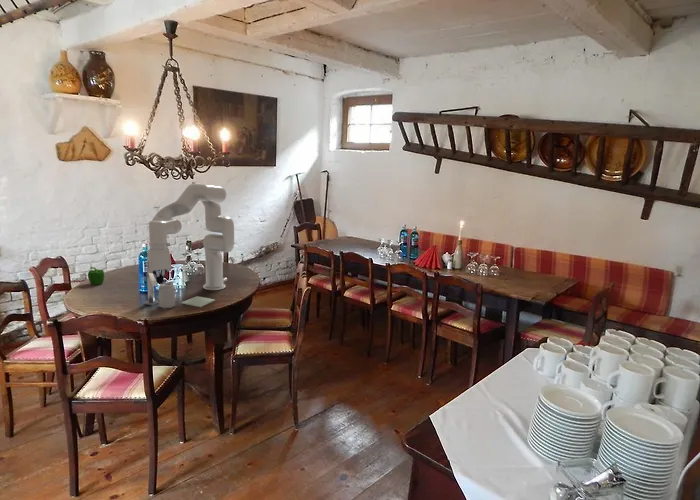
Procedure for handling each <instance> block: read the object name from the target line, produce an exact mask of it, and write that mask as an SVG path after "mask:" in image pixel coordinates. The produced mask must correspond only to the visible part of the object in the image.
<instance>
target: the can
mask: <svg viewBox="0 0 700 500" xmlns="http://www.w3.org/2000/svg"><path fill="white" fill-rule="evenodd" d="M175 288H176V286H175V285H174V283H172V282H163V284H159V286H158V301H159V303H158V305H159V307H161V308H162V309H172V308H173V307H175V305H176V289H175Z"/></svg>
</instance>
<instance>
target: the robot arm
mask: <svg viewBox="0 0 700 500" xmlns="http://www.w3.org/2000/svg"><path fill="white" fill-rule="evenodd" d="M226 198H227V192H226V189H225V187H223V186H216V185H210V184H202V183H191V184H188V185H187V187H186V188H185V189H184V191H183V192H182V193H181V194H180V196H178V198H177V199H176V201H174V202H172V203H169V204H167V205H165V206H164V207H162V208H161V209H159V211H157V213H156V214H155V215H154V216H153V218H152V220H151V221H149V222H148V234H149V249H147V255H146V263H147V264H146V267H147V272H148V273H153V274H154V276H155V279H156V281H157V285H160V284H163V283H165V281H164V280H165V279H164V278H165V277H164V276H165V275H166V274H167V273H168V272H170V271H172V270H173V269H172V260H171V253H170V250H169V249H170V248H169V247H171V244H170V242H168V237H167V235H176V234H178V233H180V231H181V230H182V222H181V221H180V220H178V219H176V218H175V217H179V216H182V215H187V214H188V213H190V212H192V210H193V209H194V208H195V206H196V205H197V203H198V202H199V201H200V202H201V203H202V204H203V206H204V213H205V214H204V216H205V217H204V218H205V223H204V224H205V229H206V230H207V231H208V232H210V233H208V234H207V235H205V236H204V237H203V241H202V244H203V248H204V255H205V258H204V259H205V260H204V261H205V284H203V285H202V287H203V289H204V290H207V291H219V290H224V289H225V288H226V286H227V285H226V283H225V282H226V281H228V278H227V277H224V273H223V272H224V270H223V269H224V268H223V266H224V265H223V263H224V262H223V259H224V258H223V254H222V253H230V252H232V251H233V250H234V247H235V223H234V220H233V218H231V217H230V216H224V215H222V210H221V209H222V208H221V205H220V203H222V202H223V201H225V200H226ZM211 232H212V233H211ZM218 233H220V234H218ZM159 271H160V272H159Z"/></svg>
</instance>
